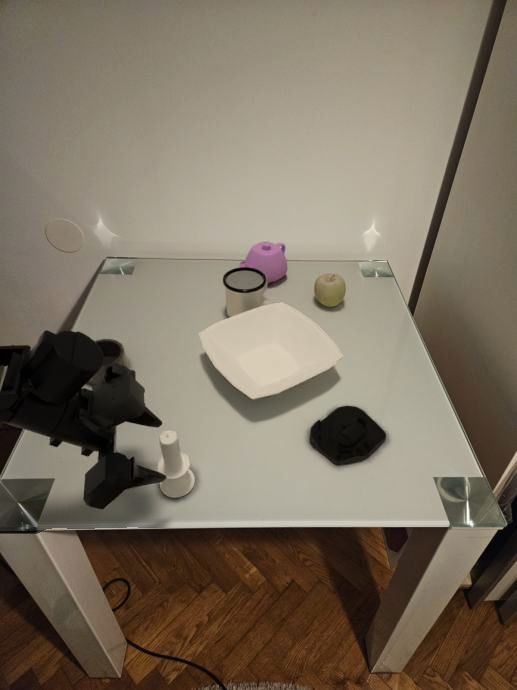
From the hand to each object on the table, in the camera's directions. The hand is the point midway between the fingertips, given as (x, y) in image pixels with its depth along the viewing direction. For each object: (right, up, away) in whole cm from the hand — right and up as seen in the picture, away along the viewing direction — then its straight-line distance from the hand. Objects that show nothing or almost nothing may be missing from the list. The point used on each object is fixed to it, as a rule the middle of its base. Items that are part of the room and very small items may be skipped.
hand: (162, 450), depth 61 cm
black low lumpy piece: (+29, -1, +13) cm, 31 cm away
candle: (+1, -6, +6) cm, 9 cm away
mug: (+11, +23, +39) cm, 47 cm away
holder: (-16, +10, +24) cm, 31 cm away
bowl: (+15, +11, +26) cm, 32 cm away
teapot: (+15, +32, +50) cm, 61 cm away
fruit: (+30, +25, +42) cm, 57 cm away
